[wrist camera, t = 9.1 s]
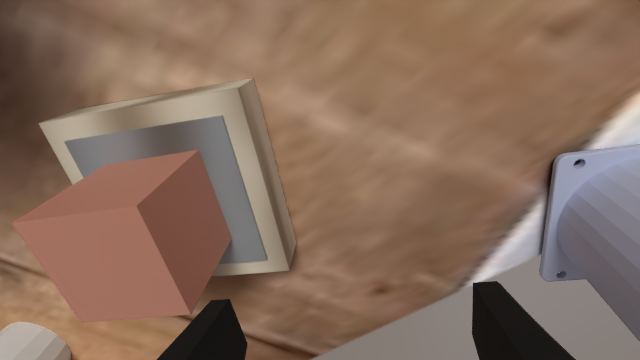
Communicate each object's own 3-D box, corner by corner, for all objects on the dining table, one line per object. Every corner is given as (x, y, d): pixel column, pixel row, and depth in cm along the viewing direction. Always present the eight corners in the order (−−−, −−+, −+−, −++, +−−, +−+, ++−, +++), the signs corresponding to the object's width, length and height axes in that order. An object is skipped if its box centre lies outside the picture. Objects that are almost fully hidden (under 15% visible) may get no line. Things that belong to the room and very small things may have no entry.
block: (198, 149, 16) (136, 205, 11) (232, 237, 18) (190, 314, 13) (104, 164, 16) (11, 222, 12) (147, 247, 19) (81, 322, 14)
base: (253, 77, 17) (236, 89, 14) (296, 242, 21) (288, 273, 18) (77, 109, 18) (34, 124, 16) (150, 256, 22) (126, 285, 20)
